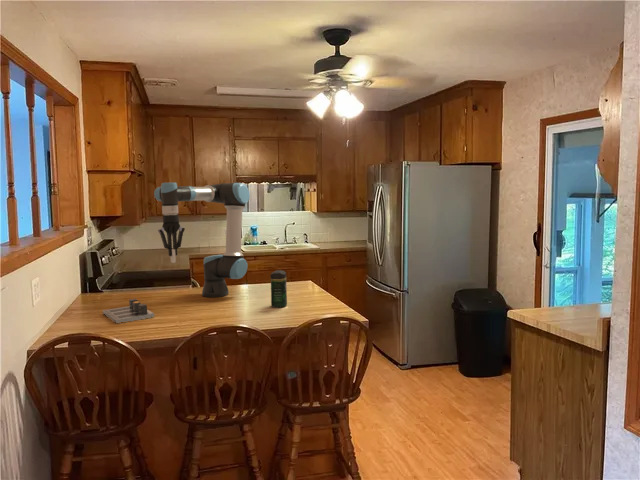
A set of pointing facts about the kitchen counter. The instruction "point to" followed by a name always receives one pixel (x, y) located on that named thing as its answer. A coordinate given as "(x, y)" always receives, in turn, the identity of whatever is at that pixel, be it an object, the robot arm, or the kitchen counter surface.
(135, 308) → the block
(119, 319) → the breaker panel
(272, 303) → the coffee jar
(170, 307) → the kitchen counter surface
